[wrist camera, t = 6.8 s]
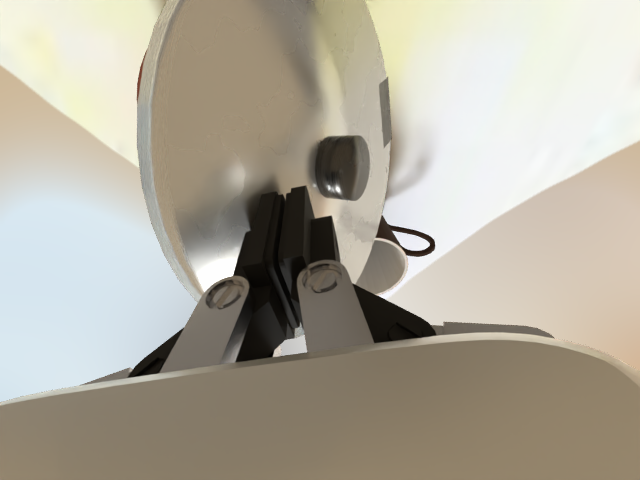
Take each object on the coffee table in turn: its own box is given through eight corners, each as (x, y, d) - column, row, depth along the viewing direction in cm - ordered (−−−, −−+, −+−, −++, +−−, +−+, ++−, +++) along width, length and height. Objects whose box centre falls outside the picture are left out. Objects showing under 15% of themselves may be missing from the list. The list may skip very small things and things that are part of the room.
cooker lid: (353, -57, 16) (406, -76, 14) (380, 212, 26) (413, 216, 24) (-67, -69, 5) (-21, -153, 4) (260, 396, 15) (305, 422, 14)
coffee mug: (315, 236, 41) (316, 289, 33) (335, 181, 36) (342, 229, 28) (391, 253, 44) (410, 307, 36) (420, 204, 39) (448, 254, 31)
